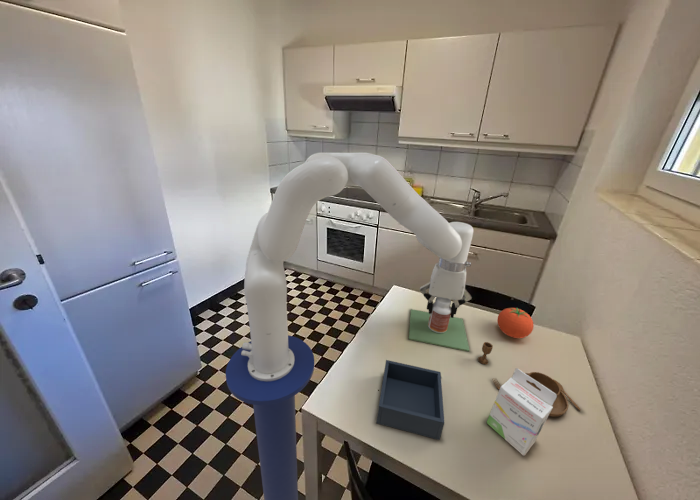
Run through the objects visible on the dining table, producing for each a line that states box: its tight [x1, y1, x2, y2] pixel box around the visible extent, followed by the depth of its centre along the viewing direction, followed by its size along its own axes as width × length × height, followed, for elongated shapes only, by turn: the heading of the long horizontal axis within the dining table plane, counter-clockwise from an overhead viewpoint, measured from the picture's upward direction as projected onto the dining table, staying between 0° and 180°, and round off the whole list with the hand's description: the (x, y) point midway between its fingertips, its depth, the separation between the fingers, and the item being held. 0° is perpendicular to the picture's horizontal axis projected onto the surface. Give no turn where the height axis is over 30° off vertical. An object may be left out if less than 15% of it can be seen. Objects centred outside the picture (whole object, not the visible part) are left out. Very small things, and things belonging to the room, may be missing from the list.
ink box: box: [486, 367, 557, 456], centre depth 58 cm, size 9×5×15 cm, turn 35°
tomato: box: [496, 307, 535, 339], centre depth 90 cm, size 10×10×10 cm
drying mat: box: [408, 308, 470, 352], centre depth 93 cm, size 18×16×1 cm
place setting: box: [477, 341, 581, 417], centre depth 73 cm, size 18×20×6 cm
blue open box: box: [375, 359, 445, 441], centre depth 65 cm, size 14×14×6 cm
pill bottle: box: [428, 297, 452, 333], centre depth 90 cm, size 6×6×11 cm
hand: (440, 312), depth 90 cm, fingers closed on pill bottle, 6 cm apart
